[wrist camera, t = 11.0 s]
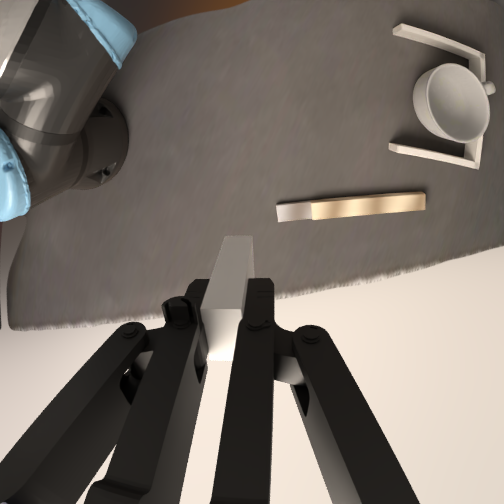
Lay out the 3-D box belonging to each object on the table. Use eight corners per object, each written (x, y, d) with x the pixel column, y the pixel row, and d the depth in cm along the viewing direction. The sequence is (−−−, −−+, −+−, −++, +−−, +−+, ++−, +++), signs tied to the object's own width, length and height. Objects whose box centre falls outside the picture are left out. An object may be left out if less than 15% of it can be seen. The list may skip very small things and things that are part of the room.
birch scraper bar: (278, 220, 45) (278, 223, 44) (276, 204, 44) (276, 207, 43) (421, 206, 42) (424, 209, 41) (421, 191, 41) (425, 194, 40)
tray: (388, 149, 39) (397, 152, 36) (392, 28, 30) (401, 23, 27) (467, 164, 38) (478, 169, 35) (472, 56, 30) (484, 54, 26)
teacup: (415, 142, 38) (440, 150, 31) (394, 73, 34) (417, 67, 27) (481, 126, 35) (510, 133, 28) (464, 63, 31) (493, 59, 23)
